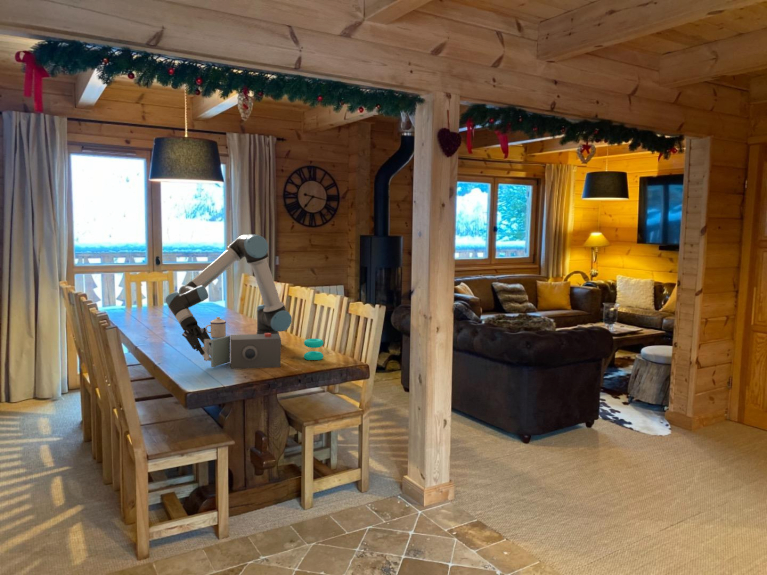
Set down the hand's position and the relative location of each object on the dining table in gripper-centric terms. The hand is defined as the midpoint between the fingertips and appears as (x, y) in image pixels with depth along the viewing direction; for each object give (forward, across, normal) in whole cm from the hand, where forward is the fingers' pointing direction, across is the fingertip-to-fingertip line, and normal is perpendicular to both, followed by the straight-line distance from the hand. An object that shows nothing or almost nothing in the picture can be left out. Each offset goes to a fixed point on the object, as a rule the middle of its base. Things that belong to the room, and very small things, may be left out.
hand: (211, 358), depth 291 cm
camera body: (+13, -14, +8) cm, 21 cm away
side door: (+2, -4, -3) cm, 5 cm away
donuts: (+24, -42, +18) cm, 51 cm away
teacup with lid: (-33, -53, -39) cm, 74 cm away
